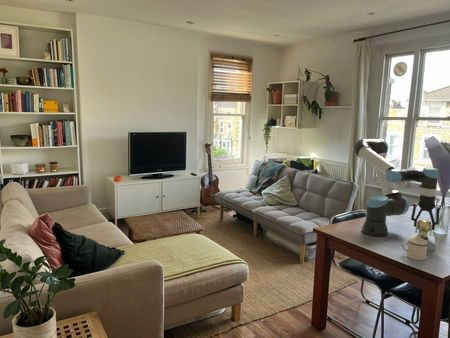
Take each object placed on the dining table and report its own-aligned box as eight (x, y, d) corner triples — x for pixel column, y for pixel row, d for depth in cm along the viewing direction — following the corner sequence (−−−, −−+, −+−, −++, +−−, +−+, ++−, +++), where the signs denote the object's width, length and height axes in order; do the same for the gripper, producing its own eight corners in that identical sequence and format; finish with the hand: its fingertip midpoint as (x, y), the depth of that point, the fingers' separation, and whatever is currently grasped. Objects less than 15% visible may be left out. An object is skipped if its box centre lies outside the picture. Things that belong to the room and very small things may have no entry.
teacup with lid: (426, 255, 180) (428, 235, 178) (426, 262, 173) (428, 241, 170) (401, 250, 186) (403, 231, 184) (400, 257, 179) (402, 236, 176)
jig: (433, 250, 186) (434, 243, 186) (409, 245, 193) (409, 238, 192) (433, 243, 196) (434, 236, 196) (410, 239, 203) (411, 232, 202)
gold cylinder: (421, 240, 190) (423, 223, 188) (413, 235, 196) (415, 219, 195) (431, 239, 191) (433, 222, 189) (424, 235, 197) (426, 219, 195)
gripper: (407, 193, 192) (403, 231, 196) (447, 199, 180) (442, 239, 185) (409, 191, 198) (405, 228, 202) (448, 196, 186) (443, 235, 191)
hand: (423, 233), depth 193 cm, fingers closed on gold cylinder, 6 cm apart
